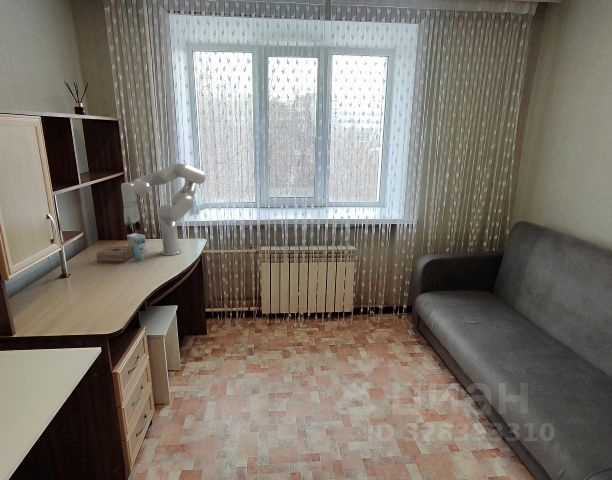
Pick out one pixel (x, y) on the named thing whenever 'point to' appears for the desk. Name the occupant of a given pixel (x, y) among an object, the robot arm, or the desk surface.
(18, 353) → the desk surface
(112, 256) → the walnut socket block
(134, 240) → the light bulb box
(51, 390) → the desk surface
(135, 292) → the desk surface
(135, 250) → the teal peg
